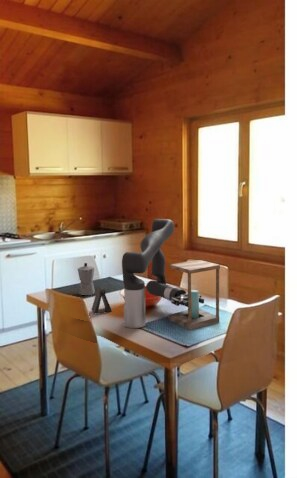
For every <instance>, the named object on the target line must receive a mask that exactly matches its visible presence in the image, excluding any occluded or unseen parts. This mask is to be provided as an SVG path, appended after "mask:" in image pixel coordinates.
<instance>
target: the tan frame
mask: <svg viewBox="0 0 297 478" xmlns="http://www.w3.org/2000/svg"><path fill="white" fill-rule="evenodd" d="M169 265H170V266H169V267H170V269H172V270H175V271H179V272H183V273H185V274H187V294H188V307H187V310H182V311H178V312H173V313H170V314H168V315H167V316H168V320H169V321H170V322H173V323H175V324H176V325H179V326H180V327H183V328H185V329H187V330H189V331H191V330H195V329H199V328H203V327H206V326H210V325H214V324H218V323H220V269H221V264H218V263H214V262H210V261H205V260H202V259H198V260H197V259H196V260H191V261H183V262H177V263H172V264H169ZM214 270H215V314H214V313H211V312H209V311H206V310H204V309H201V308H199V318H196V319H191V290H192V274H197V273H202V272H208V271H214Z"/></svg>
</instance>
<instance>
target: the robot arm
mask: <svg viewBox="0 0 297 478" xmlns="http://www.w3.org/2000/svg"><path fill="white" fill-rule="evenodd" d="M174 231H175V223H174V221H173V220H171V219H168V218H155V219H154V220H153V221H152V223H151V232H149V233H148V234H146V235H145V236H144V237H143V238H142V240H141V241H140V247H139V248H140V251H141V252H137V251H136V252H135V251H126V252H124V254H123V255H122V257H121V268H122V269H121V271H122V281H123V283H122V284H123V291H124V294H123V295H124V305H123V322H124V323H123V325H124V327H126V328H131V329H139V328H142V327H145V326H146V323H147V322H146V320H147V319H146V318H147V317H146V292H147V293H148V294H149V295H153V296H156V297H160V298H163V299H165V300H167V301H169V302H170V304H172V305H175V306H177V307H179V306H183V307H187V308H188V292H187V291H186V290H184V289H182V288H180V287H177V286H175V285H174V286H172V285H170V284H167V281H166V280H167V279H166V274H165V272H166V271H165V270H166V257H165V255H164V252H163V251H162V246H163V245H164V244H165V242H166V241H167V240H169V239H170V238H171V237H172V236H173V234H174ZM150 264H151V269H150V274H151V275H152V276H153V277H155V278H156V280H150V281H147V283H145V281H144V280H143V279H141V278H139V277H137V276H136V275H135V274H144V273H145V272H146V271H147V270H148V268H149V266H150ZM145 285H146V286H145ZM202 297H203V296H202V294H199V304H202V305H203V304H205V299H204V298H202Z"/></svg>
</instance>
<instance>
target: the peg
mask: <svg viewBox="0 0 297 478" xmlns="http://www.w3.org/2000/svg"><path fill="white" fill-rule="evenodd" d="M199 295H200V291H199V290H196V289H191V319H196V318H199V309H200V303H199Z"/></svg>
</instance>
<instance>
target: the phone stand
mask: <svg viewBox="0 0 297 478" xmlns="http://www.w3.org/2000/svg"><path fill="white" fill-rule="evenodd" d="M94 296H95V297H94V299H93V303H92V307H91V310H92V311H91V310H90V311H91V312H92V313H93V314H94V313H100V314H105V313H104V312H107V313H112V312H113V310H112V308H111V306H110V304H109V301H108V298H107V295H106V290H105V289H104V288H103V286H97V287H96V290H95V295H94ZM101 299H102V303H103V306H104V308H100V304H101Z"/></svg>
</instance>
